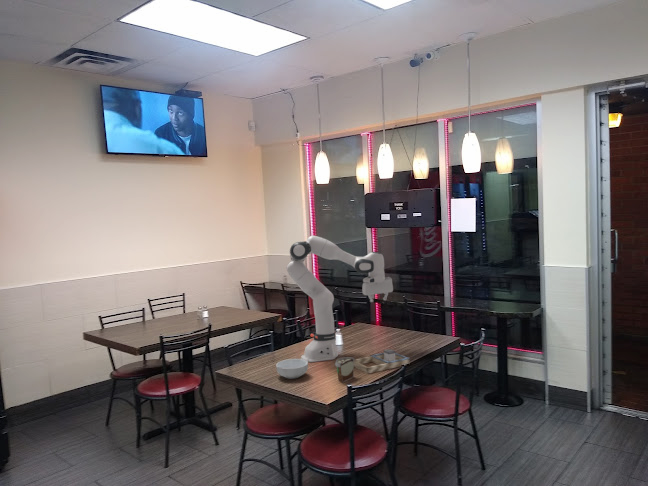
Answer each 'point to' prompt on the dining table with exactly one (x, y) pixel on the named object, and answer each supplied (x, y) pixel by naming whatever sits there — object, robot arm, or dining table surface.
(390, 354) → the plug block
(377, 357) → the divider frame
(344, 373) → the food container
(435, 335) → the dining table surface
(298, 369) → the cereal bowl
